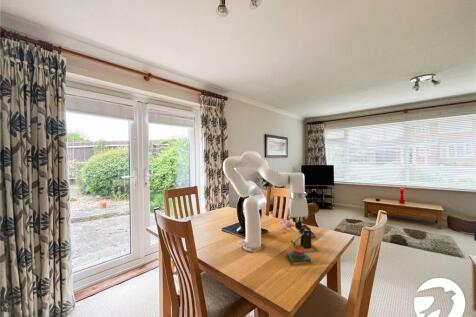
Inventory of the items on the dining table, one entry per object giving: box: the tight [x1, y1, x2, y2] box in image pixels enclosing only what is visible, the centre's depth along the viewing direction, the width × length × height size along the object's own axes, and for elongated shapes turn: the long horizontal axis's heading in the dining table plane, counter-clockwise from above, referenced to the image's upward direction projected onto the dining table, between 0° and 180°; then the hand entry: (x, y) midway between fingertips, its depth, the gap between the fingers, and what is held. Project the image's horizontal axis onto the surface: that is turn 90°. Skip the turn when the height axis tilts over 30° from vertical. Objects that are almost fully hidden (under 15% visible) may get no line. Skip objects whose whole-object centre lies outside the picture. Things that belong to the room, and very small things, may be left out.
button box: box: [286, 249, 312, 263], centre depth 109 cm, size 10×8×4 cm
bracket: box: [300, 228, 312, 250], centre depth 122 cm, size 10×8×12 cm
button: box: [294, 248, 303, 255], centre depth 109 cm, size 4×4×2 cm
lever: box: [290, 229, 307, 246], centre depth 121 cm, size 12×5×2 cm
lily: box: [279, 217, 295, 231], centre depth 150 cm, size 12×12×10 cm
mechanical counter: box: [298, 223, 317, 239], centre depth 140 cm, size 7×13×10 cm
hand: (298, 229), depth 109 cm, fingers closed
